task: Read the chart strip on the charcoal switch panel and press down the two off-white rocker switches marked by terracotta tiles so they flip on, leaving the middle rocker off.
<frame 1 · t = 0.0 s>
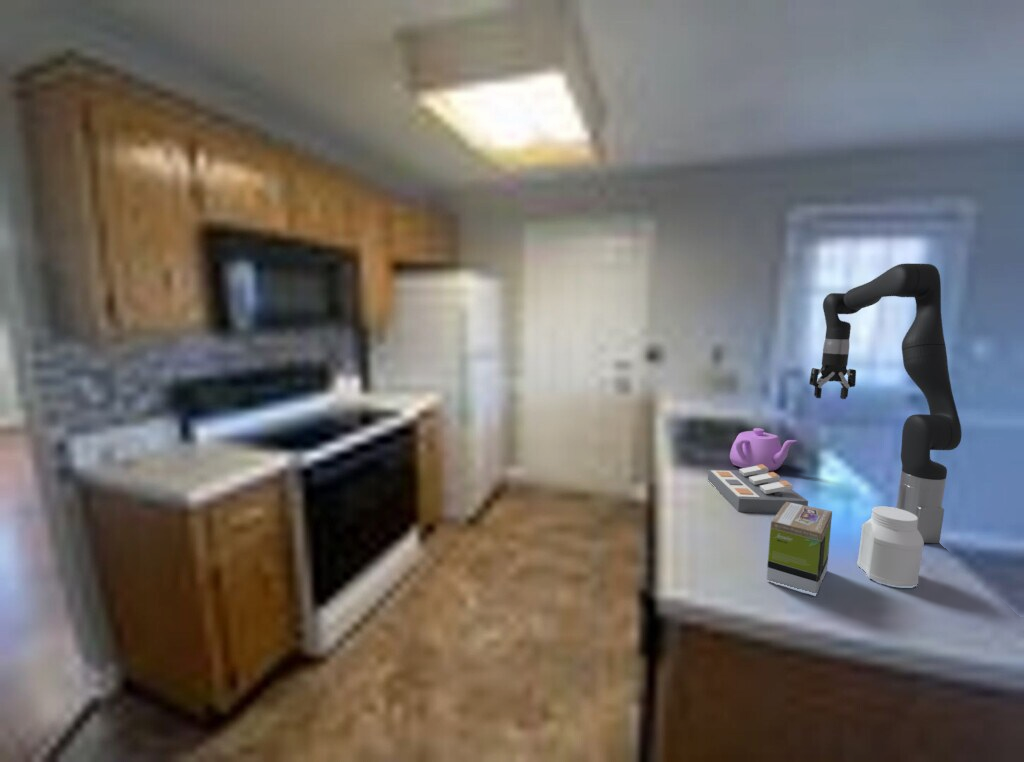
hand: (830, 398, 177), 29 cm above the worktop, tool pointing down, fingers open, 8 cm apart
rocker 3: (753, 470, 171), point 6 cm above the worktop, hinge at -14.0°
switch panel: (753, 495, 164), on the worktop
rocker 1: (775, 486, 155), point 6 cm above the worktop, hinge at -14.0°
tea box: (796, 577, 115), on the worktop
rocker 2: (764, 478, 163), point 6 cm above the worktop, hinge at -14.0°
teapot: (757, 468, 193), on the worktop
jar: (886, 576, 117), on the worktop
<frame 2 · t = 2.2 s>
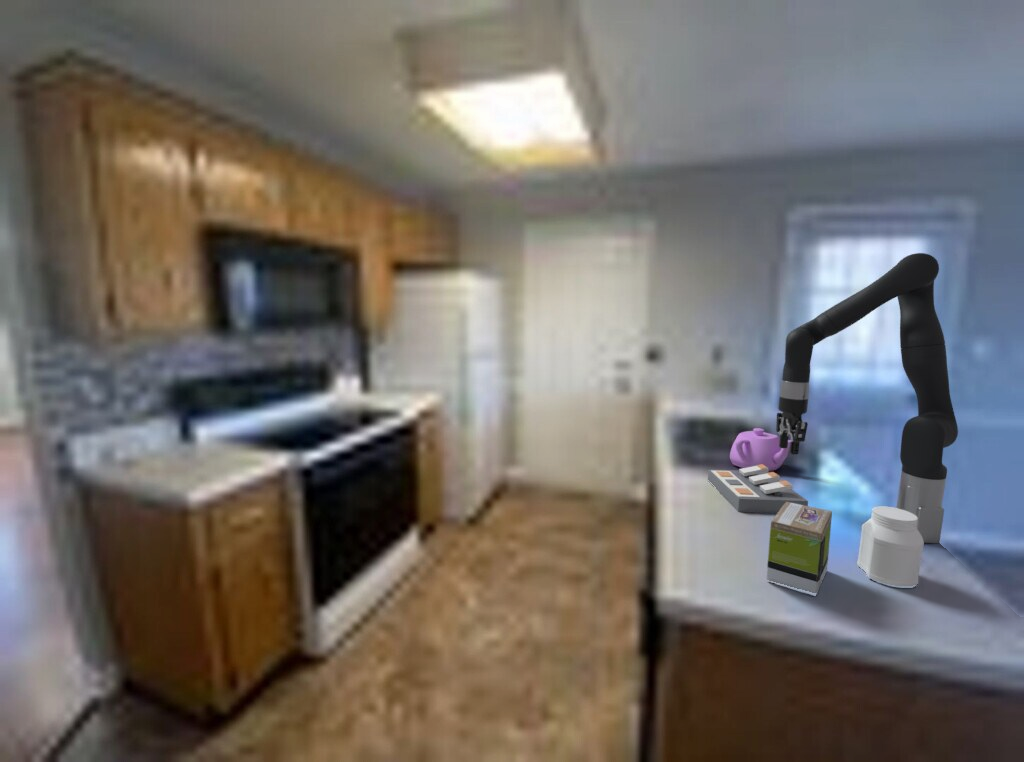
hand: (788, 450, 154), 18 cm above the worktop, tool pointing down, fingers open, 6 cm apart
nothing on the worktop moved.
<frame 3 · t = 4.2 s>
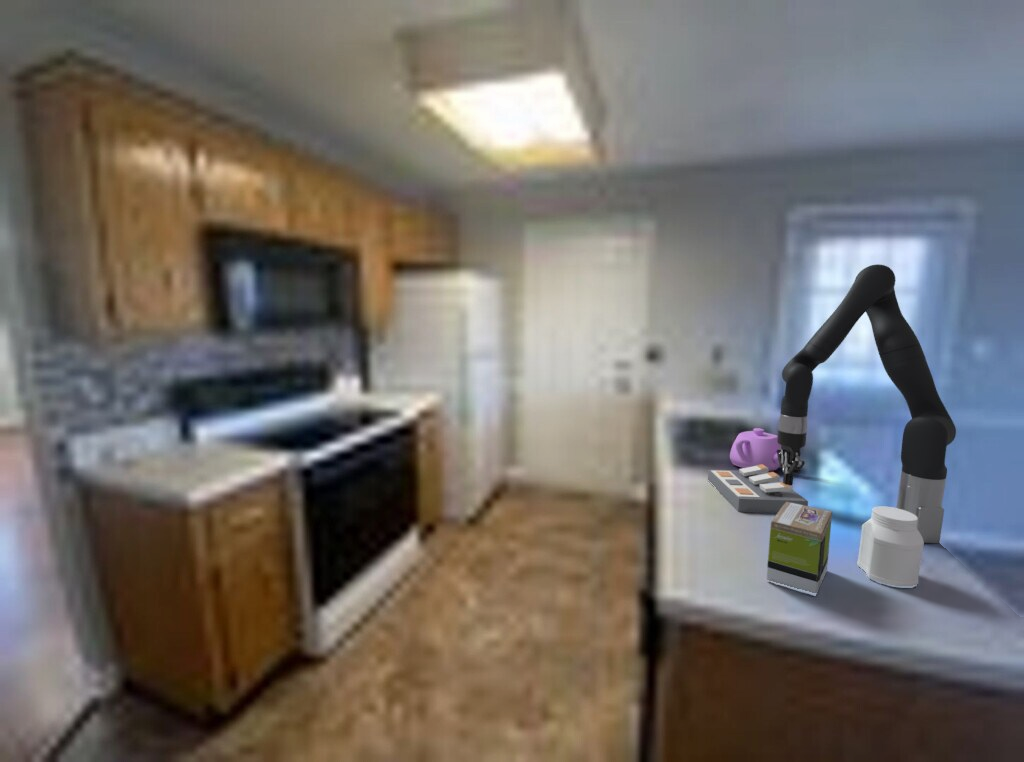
hand: (787, 484, 155), 7 cm above the worktop, tool pointing down, fingers closed
rocker 1: (775, 486, 155), point 6 cm above the worktop, hinge at -7.3°, touching gripper
everything else where it was.
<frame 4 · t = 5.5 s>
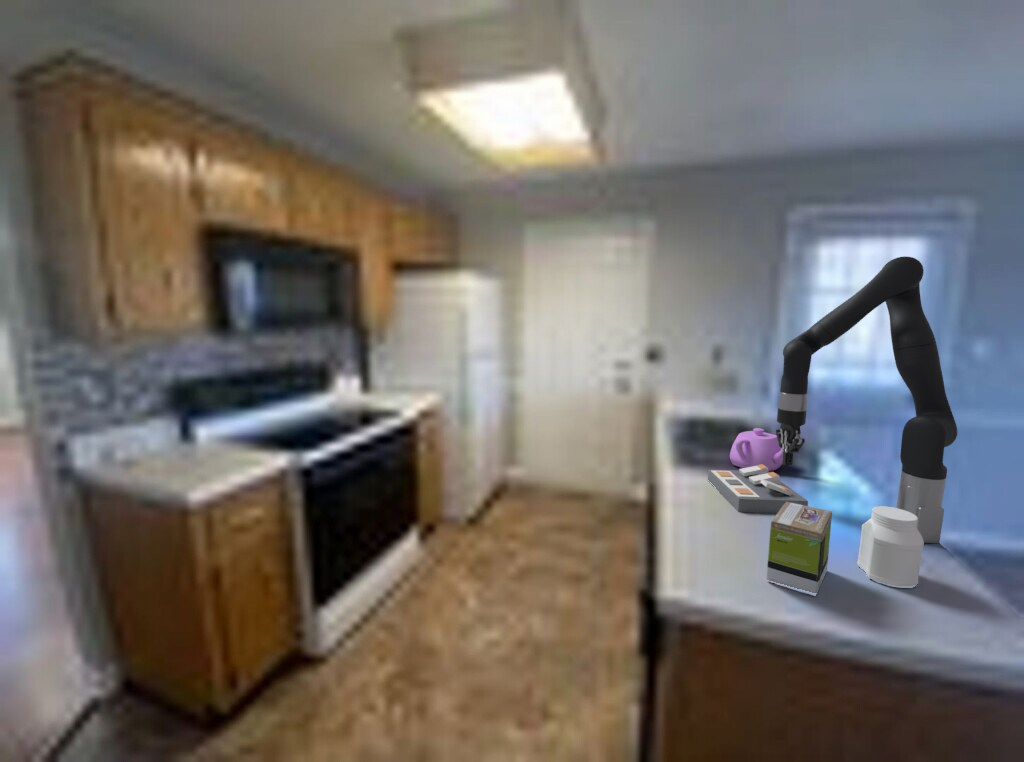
hand: (787, 464, 154), 14 cm above the worktop, tool pointing down, fingers closed
rocker 1: (776, 486, 155), point 6 cm above the worktop, hinge at 19.1°
everything else where it was.
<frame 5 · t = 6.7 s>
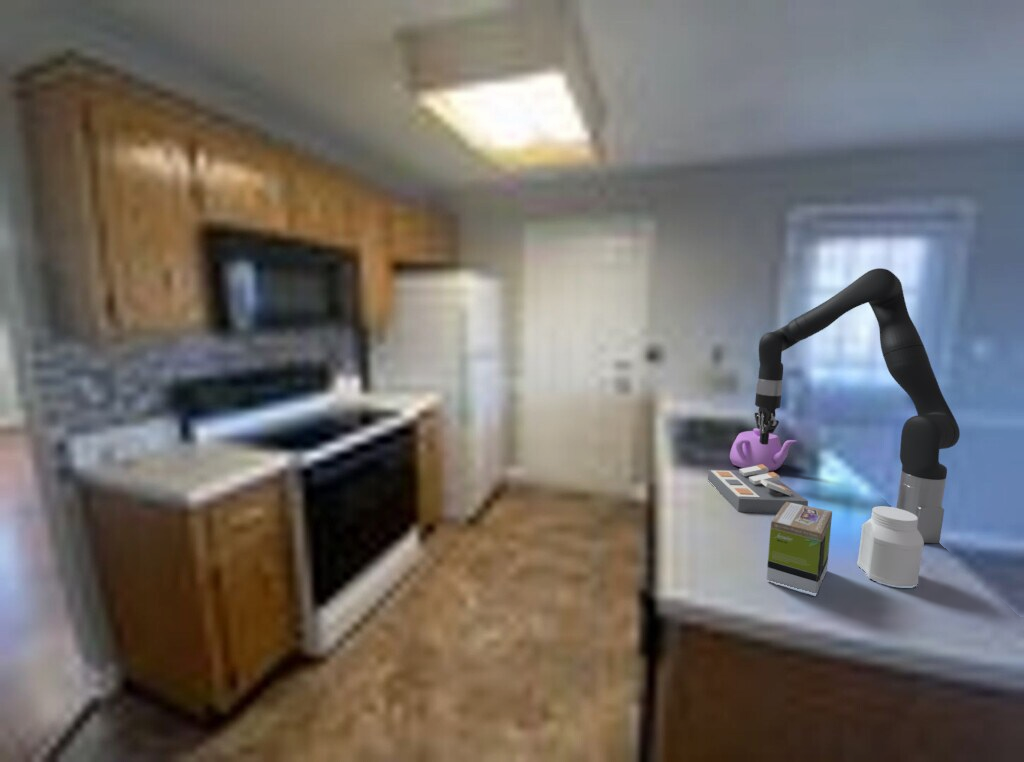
hand: (763, 443, 170), 15 cm above the worktop, tool pointing down, fingers closed
rocker 1: (776, 486, 155), point 6 cm above the worktop, hinge at 19.6°
everything else where it was.
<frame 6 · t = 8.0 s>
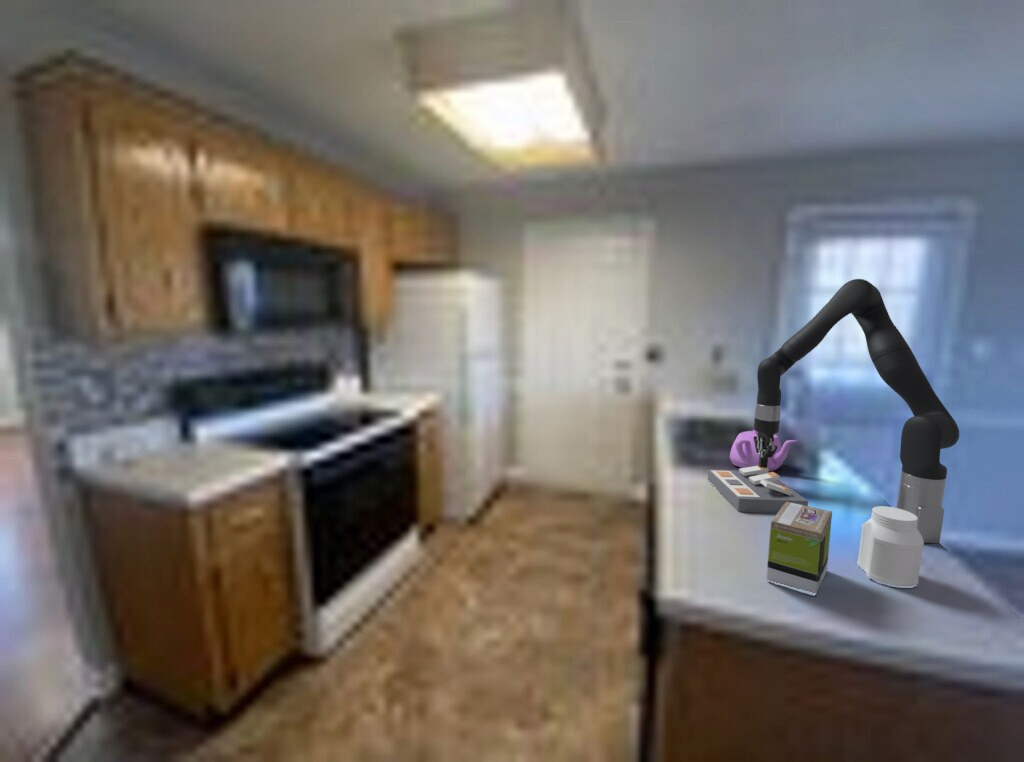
hand: (762, 467, 171), 7 cm above the worktop, tool pointing down, fingers closed
rocker 3: (753, 470, 171), point 6 cm above the worktop, hinge at -11.8°, touching gripper
rocker 1: (776, 486, 155), point 6 cm above the worktop, hinge at 18.2°
everything else where it was.
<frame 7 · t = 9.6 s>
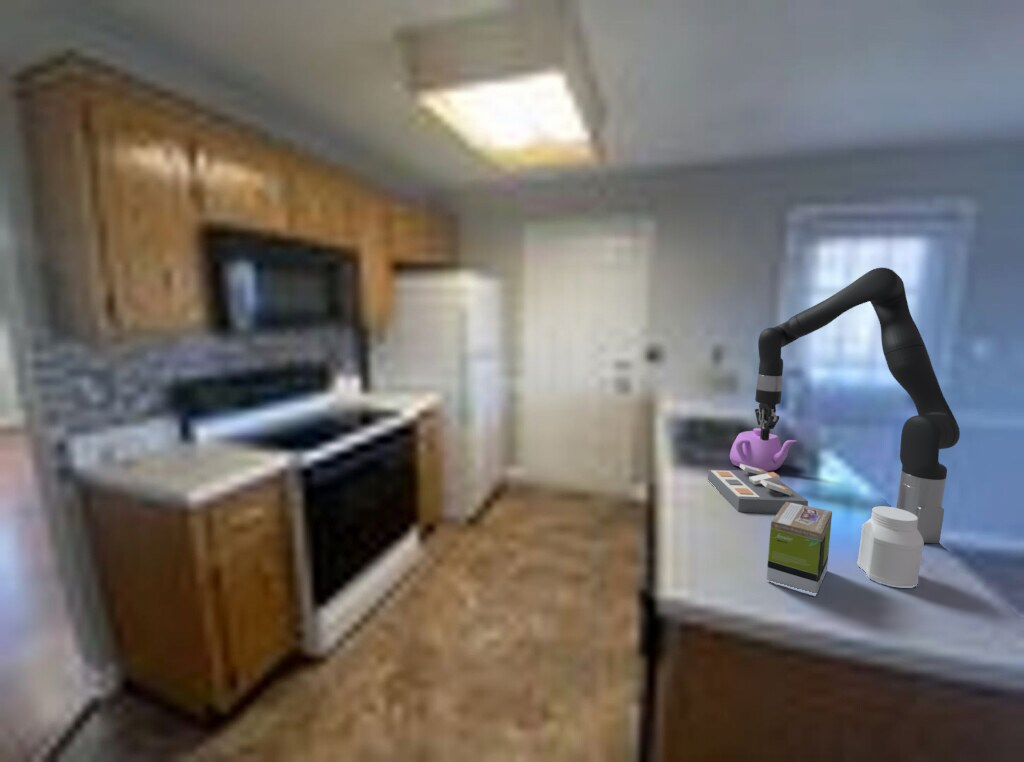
hand: (764, 439, 169), 17 cm above the worktop, tool pointing down, fingers closed
rocker 3: (753, 470, 171), point 6 cm above the worktop, hinge at 15.1°
rocker 1: (776, 486, 155), point 6 cm above the worktop, hinge at 17.7°
everything else where it was.
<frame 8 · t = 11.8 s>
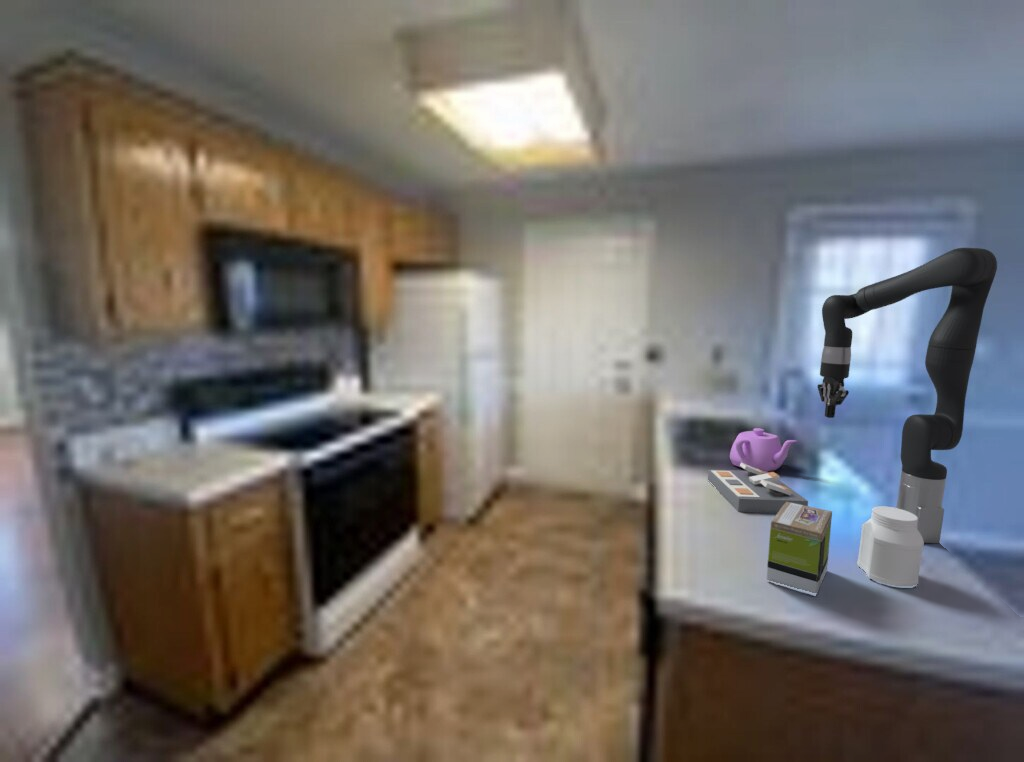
hand: (829, 417, 158), 27 cm above the worktop, tool pointing down, fingers closed
rocker 3: (753, 470, 171), point 6 cm above the worktop, hinge at 21.8°, touching switch panel
everything else where it was.
at the end: rocker 1 at +18° (first picture: -14°); rocker 3 at +22° (first picture: -14°); rocker 2 at -14° (first picture: -14°) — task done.
